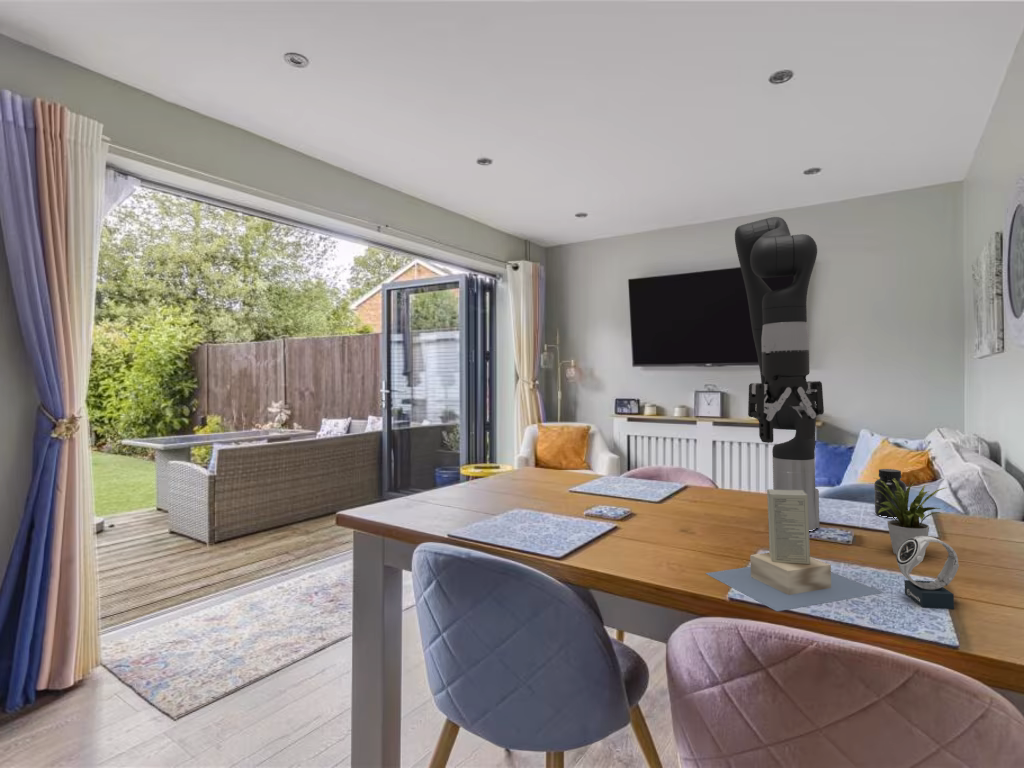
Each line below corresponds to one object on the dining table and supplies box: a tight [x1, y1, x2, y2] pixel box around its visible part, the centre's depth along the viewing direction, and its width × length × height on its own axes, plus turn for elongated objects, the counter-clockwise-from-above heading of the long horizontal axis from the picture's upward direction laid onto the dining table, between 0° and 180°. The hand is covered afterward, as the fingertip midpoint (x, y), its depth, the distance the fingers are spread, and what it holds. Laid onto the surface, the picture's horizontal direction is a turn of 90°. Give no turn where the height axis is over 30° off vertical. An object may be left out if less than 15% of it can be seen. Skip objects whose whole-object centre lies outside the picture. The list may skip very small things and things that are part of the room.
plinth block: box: [749, 552, 832, 595], centre depth 98 cm, size 9×9×4 cm
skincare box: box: [766, 488, 811, 564], centre depth 97 cm, size 6×4×12 cm
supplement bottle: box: [873, 468, 907, 517], centre depth 144 cm, size 7×7×12 cm
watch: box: [895, 535, 960, 610], centre depth 88 cm, size 6×8×11 cm
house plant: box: [869, 477, 949, 555], centre depth 114 cm, size 14×14×16 cm
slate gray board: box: [705, 566, 885, 612], centre depth 98 cm, size 22×18×1 cm
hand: (786, 440), depth 97 cm, fingers open, 8 cm apart
